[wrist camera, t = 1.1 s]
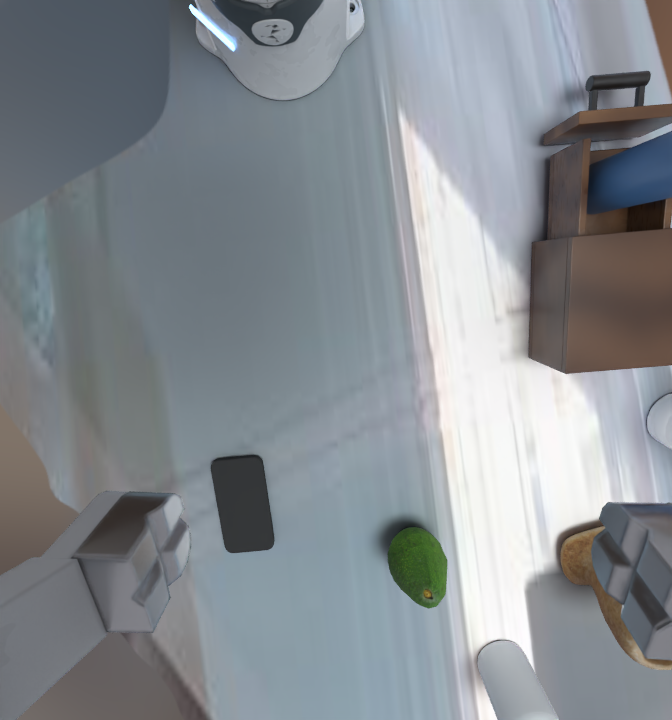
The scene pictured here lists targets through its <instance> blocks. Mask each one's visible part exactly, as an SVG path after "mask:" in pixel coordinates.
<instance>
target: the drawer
mask: <svg viewBox="0 0 672 720" xmlns="http://www.w3.org/2000/svg"><path fill="white" fill-rule="evenodd" d="M650 76H651V74H650V72H649V71H640V72H629V73H617V74H605V75H593V76H590V77H589V78H588V80H587V82H586V91H588V92H589V108H588V111H580V112H578V113H576V114H575V115H573V116H572V117H570V118H569V119H567V120H566V121H564V122H562V123H561V124H559V125H558V126H556V127H555V128H553V129H552V130H550V131H548V132H547V133H545V134H544V145H552V144H564V143H575V144H573V145H571V146H569V147H567V148H565V149H563V150H561V151H560V152H558V153H556V154H554V155H552V156H551V157H550V184H549V210H548V237H547V240H552V239H559V238H566V237H573V236H585V235H597V234H609V233H621V232H633V231H646V230H658V229H670V225H671V215H672V198H668V199H663V200H659V201H654V202H649V203H645V204H640V205H636V206H631V207H626V208H622V209H617V210H613V211H608V212H603V213H599V214H591V215H590V214H587V198H588V181H589V165H591V164H593V163H595V162H598V161H600V160H603V159H605V158H608V157H610V156H612V155H615V154H617V153H620V152H622V151H625V150H627V149H629V148H622V149H610V150H598V151H590V146H591V141H600V140H612V139H624V138H635V137H641V136H643V135H645V134H648V133H650V132H652V131H655V130H657V129H659V128H661V127H664V126H666V125H668V124H671V123H672V104H662V105H650V106H643V104H644V92H645V86H646V85H647V84H648V82H649V80H650ZM625 88H636V93H635V105H634V107H627V108H615V109H603V110H597V98H598V91H602V90H613V89H625ZM590 91H591V92H590ZM576 142H577V143H576Z"/></svg>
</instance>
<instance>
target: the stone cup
mask: <svg viewBox="0 0 672 720" xmlns="http://www.w3.org/2000/svg"><path fill="white" fill-rule="evenodd" d="M603 529H605V527H604V526H601V527H598V528H594V529H590V530H587V531H584V532H580V533H577V534H575V535H572V536H571V537H568V538H567V539H566V540H565V541H564V543H563V545H562V548H561V554H560V559H561V565H562V569H563V572H564V574H565V576H566V577H567V578H568V579H569V580H570V581H571V582H572V583H574V584H578V585H591V586H592V587H593V589H594V591H595V594H596V596H597V599H598V603H599V605H600V608H601V611H602V613H603V616H604V618H605V621H606V622H607V624H608V626H609V628H610V629H611V631H612V633H613V635H614V637H615V639H616V640H617V642H618V643H619V645H620V646H621V647H622V649H623V650H624V651H625V653H626V654H628V655H629V656H630V657H631V658H632V659H633V660H634V661H636V662H638V663H639V664H641V665H643V666H646V667H648V668H651V669H658V670H670V669H672V660H660V659H647V658H645V657H644V655H643V653H642V652H641V650H640V648H639V647H638V645H637V644H636V642H635V640H634V639H633V637H632V635H631V634H630V632H629V630H628V629H627V627H626V626H625V624H624V622H623V621H622V619H621V610H622V604H620V603H619V602H618V601H616V600H615V599H614V598H612V597H611V596H610V595H608V594H607V593H606V592H605V591H604V589H603V587H602V585H601V584H600V582H599V580H598V578H597V576H596V573H595V570H594V568H593V563H592V555H591V548H592V544H593V539H594V537H595V536H596V535H597V534H598V533H600V532H601V531H602V530H603Z"/></svg>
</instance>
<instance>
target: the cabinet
mask: <svg viewBox="0 0 672 720" xmlns="http://www.w3.org/2000/svg"><path fill="white" fill-rule="evenodd" d="M529 358H531V359H533V360H535V361H537V362H540V363H542V364H544V365H547V366H549V367H551V368H553V369H556V370H558V371H560V372H563V373H565V374H569V373H581V372H594V371H606V370H618V369H631V368H643V367H655V366H668V365H672V228H670V229H658V230H646V231H633V232H621V233H609V234H597V235H585V236H573V237H566V238H559V239H552V240H545V241H538V242H532V262H531V296H530V330H529Z"/></svg>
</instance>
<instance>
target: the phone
mask: <svg viewBox="0 0 672 720" xmlns="http://www.w3.org/2000/svg"><path fill="white" fill-rule="evenodd" d="M211 472H212V478H213V483H214V489H215V495H216V500H217V506H218V511H219V517H220V522H221V528H222V534H223V539H224V545H225V548H226V550H227V551H228V552H230V553H240V552H251V551H262V550H269V549H271V548H272V547H273V545H274V533H273V526H272V520H271V512H270V506H269V499H268V493H267V486H266V479H265V472H264V466H263V461H262V459H261V458H260V457H259V456H256V455H251V456H240V457H230V458H220V459H216V460H215V461H214V462H213V463H212V465H211Z"/></svg>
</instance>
